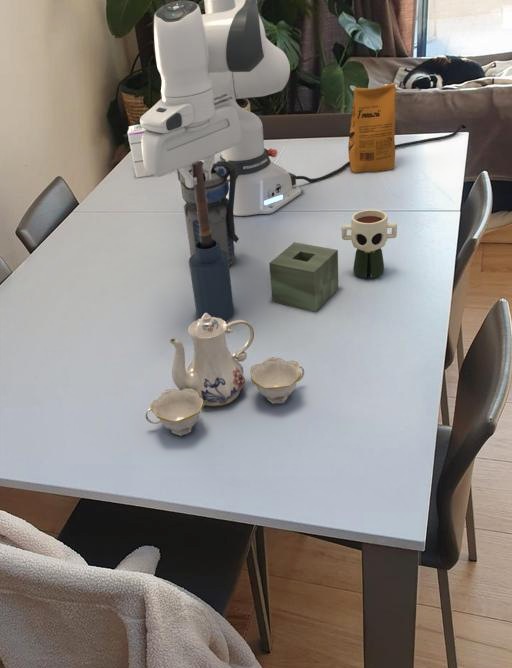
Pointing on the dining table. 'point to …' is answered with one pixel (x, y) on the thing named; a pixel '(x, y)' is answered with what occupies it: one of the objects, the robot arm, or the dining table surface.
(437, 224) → the dining table surface
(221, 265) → the steel bottle
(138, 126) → the syrup box
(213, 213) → the beverage bottle
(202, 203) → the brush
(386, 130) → the coffee package
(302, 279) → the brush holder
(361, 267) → the character mug
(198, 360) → the chinaware
